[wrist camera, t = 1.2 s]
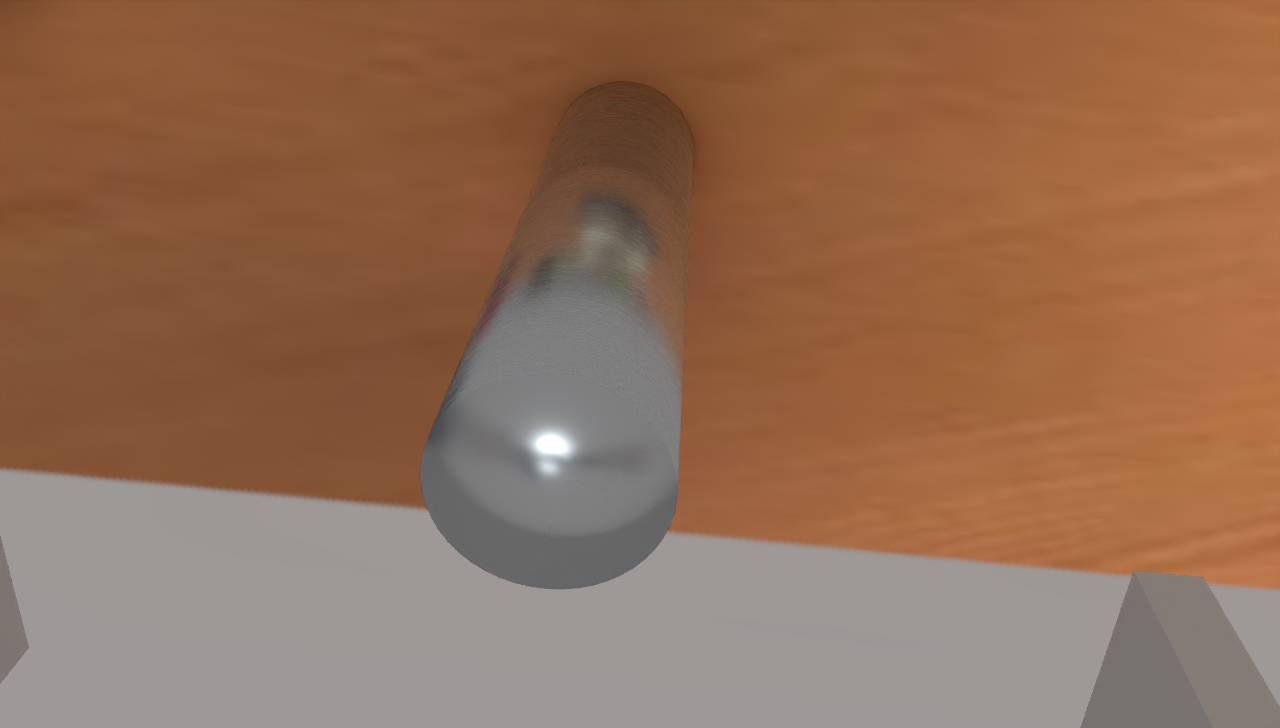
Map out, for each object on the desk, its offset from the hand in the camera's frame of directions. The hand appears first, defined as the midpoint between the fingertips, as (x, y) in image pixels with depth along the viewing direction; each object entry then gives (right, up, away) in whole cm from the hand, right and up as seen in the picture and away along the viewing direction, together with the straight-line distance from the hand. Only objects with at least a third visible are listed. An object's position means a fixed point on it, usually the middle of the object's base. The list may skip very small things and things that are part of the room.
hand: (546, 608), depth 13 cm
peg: (+1, +8, +15) cm, 17 cm away
